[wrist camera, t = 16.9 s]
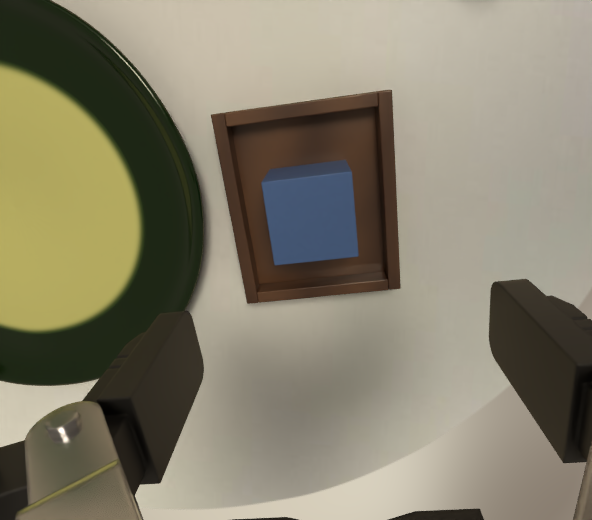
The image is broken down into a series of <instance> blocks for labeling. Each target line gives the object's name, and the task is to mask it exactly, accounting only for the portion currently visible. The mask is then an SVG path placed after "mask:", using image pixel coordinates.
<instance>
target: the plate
mask: <svg viewBox="0 0 592 520" xmlns="http://www.w3.org/2000/svg"><path fill="white" fill-rule="evenodd" d="M203 238H204V225H203V208H202V200H201V193H200V188H199V183H198V179H197V175H196V172H195V169H194V166H193V163H192V160H191V158H190V155H189V153H188V150H187V148H186V146H185V144H184V141H183V139H182V137H181V135H180V133H179V131H178V129H177V127H176V126H175V124H174V122H173V120H172V118H171V117H170V115H169V113H168V111H167V110H166V108H165V107H164V105H163V103H162V102H161V100H160V99H159V97H158V96H157V94H156V93H155V92H154V90H153V89H152V87H151V86H150V85H149V83H148V82H147V81H146V79H145V78H144V77H143V76H142V75H141V73H140V72H139V71H138V70H137V69H136V67H135V66H134V65H133V64H132V63H131V62H130V61H129V60H128V59H127V58H126V56H125V55H124V54H123V53H122V52H121V51H120V50H119V49H118V48H117V47H116V46H114V45H113V44H112V43H111V42H110V41H109V40H108V39H107V38H106V37H105V36H103V35H102V34H101V33H100V32H99V31H97V30H96V29H95V28H94V27H92V26H91V25H90V24H88V23H87V22H86V21H84V20H83V19H81V18H80V17H78V16H77V15H75V14H74V13H72V12H71V11H69V10H67V9H66V8H64V7H62V6H60V5H59V4H57V3H55V2H53V1H51V0H0V381H4V382H9V383H15V384H23V385H35V386H56V385H69V384H77V383H83V382H88V381H92V380H96V379H99V378H100V377H101V376H102V375H103V374H104V372H105V371H106V370H107V369H109V366H110V365H111V363H112V362H113V361H114V359H117V356H118V354H119V353H120V352H121V350H122V349H123V348H124V347H125V345H126V344H127V343H128V342H130V341H131V340H133V339H134V338H135V337H137V336H138V335H139V334H141V333H143V332H146V331H147V330H148V328H149V327H150V326H151V324H152V323H153V321H154V320H155V319H156V317H157V316H158V315H159V314H160V313H169V312H179V311H185V309H186V307H187V306H188V303H189V301H190V299H191V297H192V294H193V292H194V289H195V286H196V283H197V279H198V275H199V271H200V266H201V260H202V253H203Z"/></svg>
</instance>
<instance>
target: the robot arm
mask: <svg viewBox="0 0 592 520" xmlns="http://www.w3.org/2000/svg"><path fill="white" fill-rule="evenodd" d="M489 342H490V348H491V351H492V354H493V357H494V359H495V360H496V362H497V363H498V365H499V366H500V368H501V370H502V371H503V373H504V374H505V376H506V377H507V379H508V380H509V382H510V383H511V385H512V386H513V387H514V389H515V391H516V392H517V394H518V395H519V397H520V398H521V400H522V401H523V403H524V404H525V405H526V407H527V409H528V410H529V412H530V413H531V415H532V416H533V418H534V419H535V421H536V422H537V424H538V425H539V426H540V428H541V430H542V431H543V433H544V434H545V436H546V437H547V439H548V440H549V442H550V443H551V445H552V446H553V448H554V449H555V451H556V452H557V454H558V456H559V457H560V458H561V460H562V461H563V463H574V462H575V463H577V462H587V463H586V467H585V471H584V476H583V480H582V484H581V488H580V493H579V497H578V501H577V505H576V509H575V514H574V518H573V520H592V320H591V319H587V316H586V315H585V314H583V313H582V312H581V311H580V310H579V309H577V308H576V307H575V306H574V305H572V304H570V303H567V302H565V301H563V300H561V299H558V298H556V297H554V296H546V295H545V294H544V293H542V292H541V291H540V290H539V289H538V288H537V287H536V286H534V285H533V284H532V283H531V282H530V281H529V280H527V279H519V280H509V281H498V282H494V283H493V284H492V287H491V296H490V320H489ZM203 373H204V365H203V358H202V354H201V350H200V346H199V342H198V338H197V334H196V330H195V327H194V323H193V319H192V316H191V314H190V313H189V312H188V311H179V312H169V313H160V314H159V315H158V316H157V317H156V319H155V320H154V321H153V323H152V324H151V326H150V327H149V328H148V330H147V331H146V332H143V333H141V334H139V335H138V336H137V337H135V338H134V339H133V340H131V341H130V342H128V343H127V344H126V345H125V347H124V348H123V349H122V350H121V352H120V353H119V354H118V356H117V359H114V361H113V362H112V363H111V365H110V366H109V369H107V370H106V371H105V372H104V374H103V375H102V376H101V377H100V379H99V380H98V381H97V383H96V384H95V385H94V387H93V388H92V389H91V390H90V392H89V393H88V394H87V396H86V397H85V398H84V399H83V401H81V402H75V403H71V404H68V405H65V406H63V407H60V408H58V409H56V410H54V411H52V412H51V413H49V414H47V415H46V416H45V417H43V418H42V419H41V420H39V421H38V422H37V423H36V424H35V425H34V426H33V427H32V428H31V429H30V431H29V432H28V434H27V436H26V438H25V440H24V441H21V442H17V443H14V444H11V445H7V446H4V447H0V520H143V517H142V514H141V511H140V509H139V506H138V503H137V501H136V498H135V494H136V492H137V489H138V487H139V485H140V484H157V483H161V480H162V478H163V475H164V473H165V470H166V468H167V466H168V463H169V461H170V458H171V456H172V453H173V451H174V449H175V446H176V444H177V441H178V439H179V436H180V434H181V431H182V429H183V427H184V424H185V422H186V419H187V417H188V414H189V412H190V409H191V407H192V405H193V402H194V400H195V397H196V395H197V392H198V390H199V388H200V385H201V383H202V379H203ZM235 520H297V519H293V518H288V517H280V518H259V519H258V518H257V519H235ZM389 520H484V519H483V516H482V514H481V511H480V509H463V510H462V509H460V510H439V511H415V512H412V513H408V514H405V515H402V516H399V517H395V518H392V519H389Z"/></svg>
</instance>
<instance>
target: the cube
mask: <svg viewBox="0 0 592 520" xmlns="http://www.w3.org/2000/svg"><path fill="white" fill-rule="evenodd" d="M261 185H262V191H263V197H264V204H265V210H266V216H267V222H268V229H269V235H270V241H271V247H272V253H273V260H274V265H283V264H293V263H302V262H312V261H321V260H331V259H340V258H350V257H358V256H359V253H358V241H357V228H356V216H355V203H354V191H353V179H352V171H351V169H350V167H349V165H348V163H347V161H346V160H339V161H331V162H323V163H315V164H307V165H300V166H292V167H284V168H276V169H270V170H269V171H268V173H267V174H266V176H265V178H264V179H263V181H262V182H261Z"/></svg>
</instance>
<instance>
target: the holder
mask: <svg viewBox="0 0 592 520" xmlns="http://www.w3.org/2000/svg"><path fill="white" fill-rule="evenodd" d="M211 118H212V123H213V128H214V133H215V139H216V144H217V149H218V154H219V159H220V164H221V170H222V175H223V180H224V185H225V190H226V195H227V201H228V206H229V211H230V216H231V221H232V226H233V232H234V237H235V242H236V247H237V252H238V257H239V263H240V268H241V273H242V278H243V283H244V288H245V294H246V299H247V303H248V304H250V303H258V302H269V301H279V300H289V299H299V298H310V297H320V296H330V295H340V294H350V293H361V292H371V291H381V290H388V289H400V265H399V242H398V219H397V196H396V174H395V151H394V128H393V105H392V90H383V91H376V92H369V93H362V94H355V95H348V96H340V97H333V98H326V99H319V100H312V101H305V102H297V103H290V104H283V105H276V106H269V107H262V108H255V109H247V110H240V111H233V112H226V113H219V114H213V115H211ZM339 160H346V161H347V163H348V165H349V167H350V169H351V171H352V179H353V191H354V203H355V216H356V228H357V241H358V253H359V256H358V257H350V258H340V259H331V260H321V261H312V262H302V263H293V264H283V265H274V260H273V253H272V247H271V241H270V235H269V229H268V222H267V216H266V210H265V204H264V197H263V191H262V185H261V182H262V181H263V179H264V178H265V176H266V174H267V173H268V171H269V170H270V169H276V168H284V167H292V166H300V165H307V164H315V163H323V162H331V161H339Z"/></svg>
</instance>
